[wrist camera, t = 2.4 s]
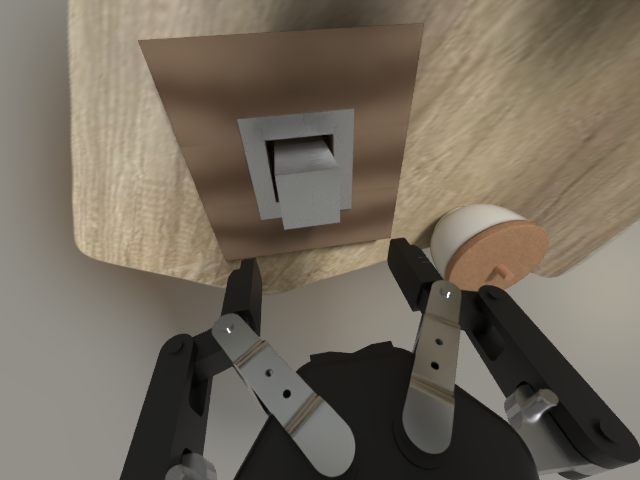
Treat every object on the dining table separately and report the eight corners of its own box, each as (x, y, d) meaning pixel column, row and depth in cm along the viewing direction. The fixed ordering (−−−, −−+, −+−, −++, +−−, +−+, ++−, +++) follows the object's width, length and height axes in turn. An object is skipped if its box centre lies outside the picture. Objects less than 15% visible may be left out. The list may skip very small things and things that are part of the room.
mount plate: (153, 41, 20) (135, 40, 17) (408, 25, 22) (426, 22, 19) (228, 246, 34) (225, 263, 31) (382, 225, 36) (391, 239, 33)
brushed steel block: (274, 138, 26) (274, 175, 18) (320, 133, 27) (339, 168, 19) (281, 181, 29) (284, 229, 21) (322, 177, 30) (340, 222, 22)
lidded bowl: (498, 173, 33) (577, 216, 25) (494, 237, 41) (553, 287, 32) (409, 212, 35) (454, 265, 26) (422, 267, 43) (460, 321, 34)
